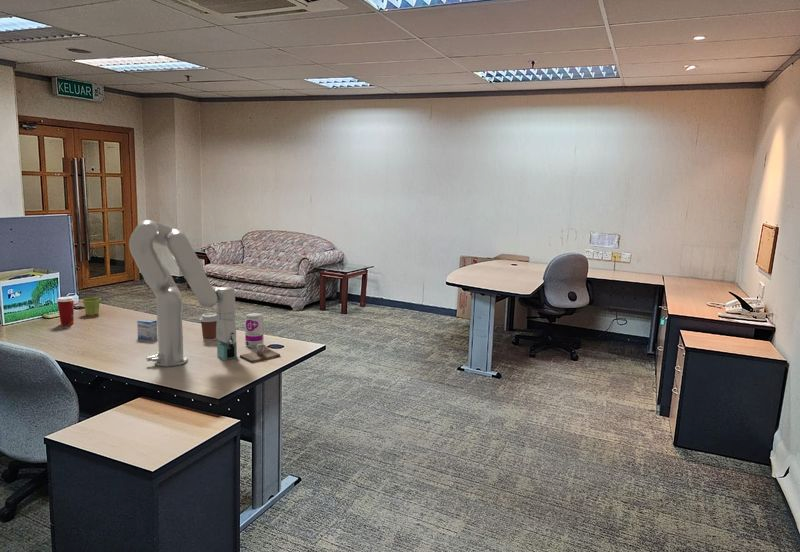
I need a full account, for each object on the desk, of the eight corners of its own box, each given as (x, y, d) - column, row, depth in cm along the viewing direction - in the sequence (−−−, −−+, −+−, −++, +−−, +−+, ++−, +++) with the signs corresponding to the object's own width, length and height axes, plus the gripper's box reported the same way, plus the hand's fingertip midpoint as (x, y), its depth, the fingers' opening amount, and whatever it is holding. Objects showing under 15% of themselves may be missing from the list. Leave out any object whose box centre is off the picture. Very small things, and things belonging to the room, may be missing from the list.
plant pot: (102, 315, 300) (101, 300, 298) (82, 317, 295) (81, 301, 294) (101, 311, 308) (100, 297, 306) (82, 313, 303) (81, 298, 302)
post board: (251, 362, 228) (251, 350, 227) (240, 357, 235) (239, 345, 234) (280, 356, 238) (280, 344, 237) (268, 351, 245) (268, 339, 244)
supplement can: (258, 348, 248) (258, 317, 246) (242, 347, 250) (241, 315, 247) (266, 343, 256) (266, 313, 254) (250, 342, 258) (250, 311, 255)
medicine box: (137, 338, 258) (136, 320, 257) (143, 335, 263) (143, 318, 261) (151, 339, 257) (150, 322, 255) (157, 337, 261) (157, 320, 260)
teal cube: (223, 359, 231) (223, 346, 230) (217, 356, 235) (217, 343, 234) (236, 357, 235) (236, 343, 234) (230, 353, 239) (229, 340, 238)
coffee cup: (203, 342, 255) (202, 317, 253) (197, 337, 262) (196, 314, 260) (222, 339, 260) (221, 315, 258) (216, 335, 268) (215, 311, 266)
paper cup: (78, 323, 281) (77, 297, 279) (63, 326, 275) (61, 299, 272) (70, 321, 285) (69, 295, 283) (55, 324, 279) (53, 297, 276)
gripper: (208, 313, 235) (209, 352, 238) (227, 320, 223) (228, 362, 226) (224, 310, 240) (225, 349, 243) (244, 317, 228) (244, 358, 231)
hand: (227, 355), depth 235 cm, fingers closed on teal cube, 6 cm apart
